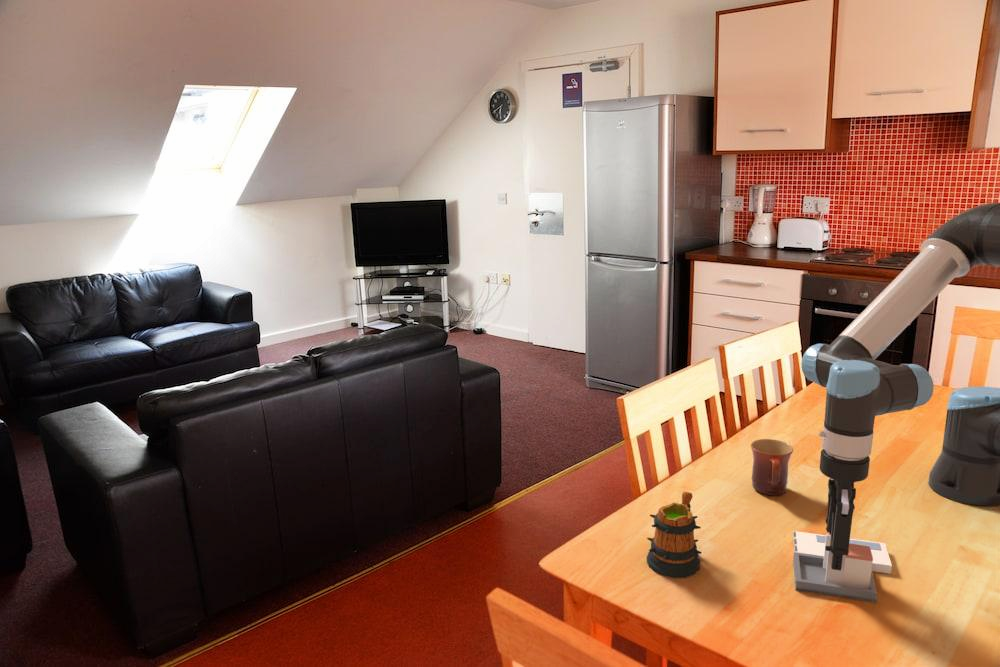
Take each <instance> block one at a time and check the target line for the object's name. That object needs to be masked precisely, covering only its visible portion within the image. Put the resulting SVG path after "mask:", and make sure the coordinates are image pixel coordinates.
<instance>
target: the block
mask: <svg viewBox="0 0 1000 667" xmlns="http://www.w3.org/2000/svg"><path fill="white" fill-rule="evenodd" d="M848 550H849V553H848V555H846V558H845V567H844V576H843V585H844V586H851V587H857V588H864V589H869V585H870V578H871V570H872V562H873V557H872V553H871V549H870V546H864V545H857V544H850V543H849V549H848Z"/></svg>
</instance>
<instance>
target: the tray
mask: <svg viewBox="0 0 1000 667" xmlns="http://www.w3.org/2000/svg"><path fill="white" fill-rule="evenodd" d="M823 560H824V556H818V555H811V554H804V553H797V552H794V551H793V560H792V562H793V574H794V584H795V591H799V592H806V593H813V594H818V595H819V594H820V595H825V596H831V597H837V598H838V597H839V598H844V599H851V600H859V601H862V602H869V603H870V602H871V603H877V598H878V590H877V587H876V584H875V583H876V582H875V579H874V575H873V571H871V578H870V585H869V589H864V588H857V587H851V586H844V585H837V584H831V583H825V576H826V569H824V568H823Z"/></svg>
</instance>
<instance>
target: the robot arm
mask: <svg viewBox="0 0 1000 667" xmlns="http://www.w3.org/2000/svg"><path fill="white" fill-rule="evenodd" d="M919 250H920V251H919V254H918V255H916V257H914V259H913V260H912V261H910V263H909V264H908V265H907V266H906V267H905V268H904V269H903V270H902V271H901V272H900V273H899V274H897V276H896V277H895V278H894V279H893V280H892V281H891V282H890V283H889V284H888V285H887V286H886V287H885V288H884V289H883V291H881V292H880V293H879V295H877V296H876V297H875V298H874V300H872V301H871V302H870V303H869V304H868V305H867V306H866V307H865V309H864V310H863V311H862V312H860V313H859V315H857V317H856V318H854V320H852V322H851V323H850V324H849V325H848V326H847V327H845V329H844V330H843V331H841V333H840V334H839V335H838V336H837V337H836V338H835V339H834V340H833V341H832V342H831V343H830V344H828V343H816V344H813V345H811V346H809V347H808V348H807V349H806V351H805V352H804V354H803V356H802V359H801V363H800V365H801V371H802V373H803V376H804V377H805V378H806V379H807V380H808V381H810V382H813V383H815V384H817V385H819V386H820V387H822V388H826V398H825V408H824V410H825V413H824V419H823V420H824V421H823V430H819V432H818V436H819V437H821V438H822V440H821V442H822V443H821V447H822V449H821V451H820V460H819V471H820V472H821V473H822V475H824V476H825V477H828V481H827V487H828V492H827V509H826V518H825V524H826V527H825V531H826V533H825V535H826V541H825V550H824V560H823V568H824V569H826V576H825V583H831V584H837V585H843V576H844V567H845V558H846V555H848V553H849V550H848V549H849V541H850V539H851V531H852V522H853V516H854V510H855V508H856V506H855V504H854V500H855V499H856V493H857V492H856V491H857V490H856V487H855V483H858V482H862V481H865V480H866V479H867V478H868V476H869V470H870V462H871V458H870V455H871V454H872V448H873V439H874V428H875V427H874V425H875V418H876V417H878V416H883V415H885V414H892V413H898V412H903V411H910V410H912V409H915V408H918V407H921V406H924V405H925V404H926V403H928V402H930V400H931V398H932V397H933V394H934V380H933V378H932V376H931V374H930V373H929V372H928V371H927V369H925V368H924V367H923V366H921V365H919V364H916V363H899V365H893V364H890V363H887V362H884V361H880V360H876V359H877V358H878V357H879V356H880V355H881V354H882V353H883V352H884V351H885V350H886V349H887V348H888V347H889V346H890V345H891V343H892V342H894V340H896V339H897V337H899V335H901V334H902V333H903V331H905V329H906V328H907V327H908V326H909V325H910V324H911V323H912V322H913V321H914V320H915V319H916V318H917V317H918V316H919V315H920V314H921V313H922V312H923V311H924V310H925V309H926V308H927V307H928V306H929V305H930V303H931V302H933V301H934V299H935V298H936V297H938V295H939V294H940V293H941V292H943V290H944V289H945V288H946V287H947V286H948V285H949V284H950V283H951V282H952V281H953V280H954V279H955V278H961V277H964V276H966V275H967V274H968V273H969V271H971V270H972V269H973V268H975V267H979V266H991V267H997V268H1000V202H989V203H984V204H981V205H980V204H979V205H977V206H974V207H972V208H969V209H967V210H964V211H962V212H961V213H959V214H957V215H956V216H953V217H952V218H951V219H949V220H947V221H946V222H944V223H943V224H941V225H940V226H939V227H938V228H937V229H935V230H934V231H933V232H932V233H931V234H929V235H928V236H927V237H926V239H925V240H923V242H922V243H921V244H920V247H919ZM946 410H947V411H946V416H945V417H946V418H945V425H944V432H943V441H942V447H941V448H942V449H941V452H940V454H939V456H938V457H937V459H936V461H935V463H934V464H933V466H932V468H931V470H930V471H929V475H928V482H927V483H928V486H929V487H930V489H931V490H933V491H934V492H935V493H937V494H939V495H940V496H942V497H944V498H947V499H950V500H952V501H956V502H960V503H963V504H967V505H973V506H974V505H975V506H982V507H983V506H984V507H990V506H1000V387H993V386H965V387H959V388H957V389H954V390H953V391H952V392H951V393H950V395H949V399H948V403H947V407H946Z"/></svg>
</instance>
